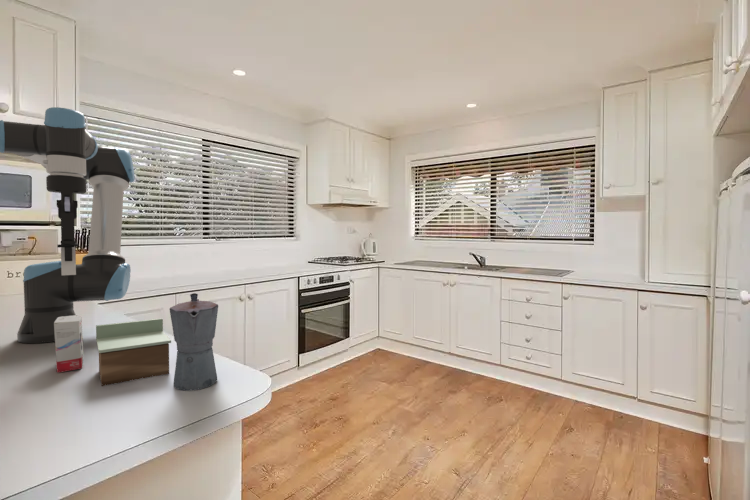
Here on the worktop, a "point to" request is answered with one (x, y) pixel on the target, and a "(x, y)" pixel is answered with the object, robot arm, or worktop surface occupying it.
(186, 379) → the moka pot
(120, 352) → the walnut box
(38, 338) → the robot arm
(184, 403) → the worktop surface
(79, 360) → the ink box
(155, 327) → the lid
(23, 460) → the worktop surface
